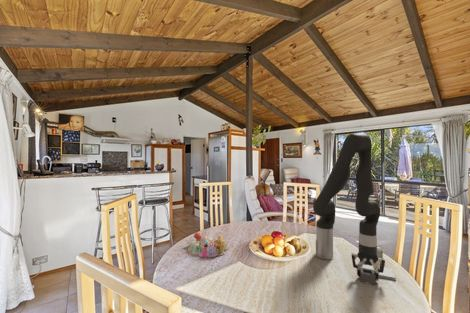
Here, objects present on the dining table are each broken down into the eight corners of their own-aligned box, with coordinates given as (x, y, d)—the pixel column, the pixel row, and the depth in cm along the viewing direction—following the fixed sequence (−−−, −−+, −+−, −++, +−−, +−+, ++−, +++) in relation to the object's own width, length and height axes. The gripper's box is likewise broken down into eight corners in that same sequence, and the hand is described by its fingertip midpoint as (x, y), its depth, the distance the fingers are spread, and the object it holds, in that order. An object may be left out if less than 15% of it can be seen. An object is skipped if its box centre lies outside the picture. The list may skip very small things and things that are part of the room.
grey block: (360, 281, 106) (360, 273, 106) (359, 275, 111) (359, 267, 111) (375, 284, 103) (375, 276, 103) (373, 278, 109) (373, 269, 109)
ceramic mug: (383, 264, 122) (383, 250, 122) (365, 261, 126) (365, 247, 126) (380, 256, 132) (380, 243, 132) (364, 254, 135) (364, 241, 135)
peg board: (361, 273, 113) (361, 259, 112) (360, 264, 122) (360, 251, 122) (395, 280, 107) (395, 265, 107) (391, 270, 116) (391, 256, 116)
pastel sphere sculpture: (227, 242, 154) (227, 228, 154) (227, 258, 130) (227, 242, 130) (190, 242, 153) (190, 229, 153) (183, 259, 129) (183, 242, 129)
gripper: (350, 243, 107) (350, 278, 107) (387, 248, 101) (387, 286, 101) (350, 237, 113) (350, 271, 114) (384, 242, 107) (384, 277, 108)
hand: (367, 278), depth 107 cm, fingers closed on grey block, 6 cm apart
